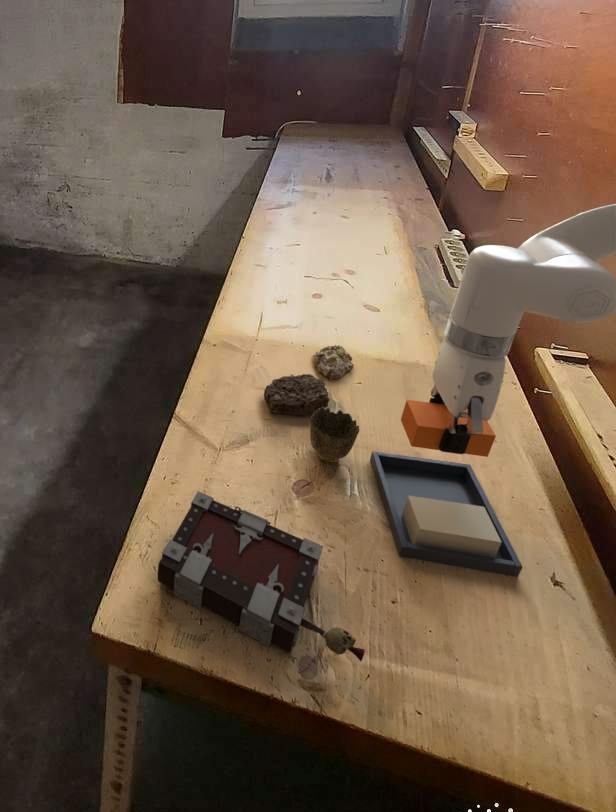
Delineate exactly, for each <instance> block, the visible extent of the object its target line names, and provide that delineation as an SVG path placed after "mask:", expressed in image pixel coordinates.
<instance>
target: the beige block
mask: <svg viewBox="0 0 616 812" xmlns="http://www.w3.org/2000/svg"><path fill="white" fill-rule="evenodd" d="M402 515H403V518H404V521H405V524H406V527H407V530H408V533H409V536H410V539H411V542H412V544H415V545H421V546H427V547H433V548H439V549H445V550H451V551H457V552H462V553H468V554H474V555H480V556H486V557H492V558H495V556H496V554H497V552H498V550H499V547H500V545H501V543H502V542H501V540H500V538H499V536H498V534H497V532H496V529H495V527H494V525H493V523H492V521H491V519H490V517H489V515H488V513H487V511H486V509H485V507H482V506H475V505H469V504H462V503H455V502H449V501H442V500H435V499H429V498H422V497H415V496H409V495H408V498H407V501H406V504H405V507H404V510H403V513H402Z"/></svg>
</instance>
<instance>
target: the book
mask: <svg viewBox="0 0 616 812" xmlns="http://www.w3.org/2000/svg"><path fill="white" fill-rule="evenodd" d="M214 499H215V498H214V497H213V496H211V495H208V494H206V493H204V492H201V491H199V490H197V492H196V493H195V494H194V497H193V499H192V500H191V502H190V503H191V504H190V507H189V509H188V511H187V513H186V514H185V516H184V518H183V519H182V522H181V523H180V525H179V527H178V528H177V530H176V532H175V534H174V536H173V537H172V539H169V540H168V542H167V544H166V546H165V548H164V549H163V551H162V553H161V554H162V555H161V559H160V560H159V562H158V566H157V583H160V584H162V585H163V586H165V587H167V588H169V589H171V590H172V591H173V595H174V596H175V597H178V598H180V599H181V600H184V601H185V602H187V603H189V604H190V605H193V606H195V607H196V608H198V609H201V608H202V607H204V608H205V609H206V610H209V611H210V612H213V613H214V614H216V615H218V616H220V617H222V618H223V619H225V620H227V621H229V622H231V623H233V624H234V625H236V626H238V631H239V632H241V633H243V634H245V635H247V636H249V637H250V638H252V639H254V640H256V641H258V642H260V643H261V644H264V645H265V646H267V647H270V645H273V646H274V647H276V648H278V649H281V650H282V651H284V652H285V653H288V654H291V653H292V649H293V648H294V647H296V643H297V640H298V636H299V632H300V630H301V627H303V628H304V629H307V630H309V631H312V632H315V633H318V634H319V635H320V636H322V638H323V639H324V641H325V644H326V647H327V648H328V650H330V651H331V652H333V653H334V654H336V655H344V654H345V652H346V651H349V652H351V653H352V654H353V655H354V656H355V657H356V658H357V660H359V662H362V661H363V658H364V655H365V651H366V650H365V648H361V647H355V644H356V641H357V640H356V638H355V637H354V636H353V635H352V633H351V632H349V631H348V630H345V629H344V628H341V627H338V626H335V627H331V628H330V629H328V630H323V629H322V628H321V627H319V626H317V625H315V624H313V623H312V622H310V621H308V620H306V619H305V618H303V616H304V612H305V605H306V603H307V598H308V595H309V592H310V588H311V585H312V581H315V578H316V575H317V571H318V568H319V563H320V558H321V555H322V551H323V547H324V546H323V545H322V544H320V543H317V542H316V541H313V540H310V539H308V538H306V537H303V539H302V538H300V537H298V536H295V535H293V534H291V533H289V532H287V531H284V530H283V529H280V528H278V527H275V526H272V525H271V521H268V519H266V518H264V517H262V516H260V515H257V514H255V513H253V512H250V511H248V510H245V509H242V508H241V507H239V506H235V507H234V508H232V507H230V506H227V505H225V504H223V503H221V502H218V501H216V500H214Z"/></svg>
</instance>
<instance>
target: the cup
mask: <svg viewBox="0 0 616 812" xmlns="http://www.w3.org/2000/svg"><path fill="white" fill-rule="evenodd" d="M359 433H360V425H359V424H358V425H357V420H356V419H354V420H353V417H352V416H351V414H350V413H349V412H347V413H344V412H343V410H341V409H338V410H337V412H336V413H335V412H334V411H331V410H330V407H326V408H323V407H322V408H320V409H319V410H318V411H316V410H315V411H313V414H311V416H310V429H309V434H310V435H309V438H310V443H311V447H312V448H313V450H314V451H315V453H316V456H317V458H318V459H319V460H320V461H322V462H324V463H327V464H335V463H337V462H339V460H341V459H343V458H345V457H346V456H348V455H349V453H350V452H351V450H352V449H353V446H354V444H355V443H356V440H357V437H358V435H359Z"/></svg>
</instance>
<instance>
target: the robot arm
mask: <svg viewBox="0 0 616 812" xmlns="http://www.w3.org/2000/svg"><path fill="white" fill-rule="evenodd" d="M615 255H616V203H614V204H608V205H604V206H600V207H596V208H592V209H589V210H586V211H584V212H580V213H578V214H576V215H573V216H571V217H569V218H567V219H565V220H562V221H560V222H558V223H556V224H554V225H551V226H549V227H548V228H546V229H544V230H541V231H539V232H538V233H536V234H534V235H532V236H531V237H530V238H528V239H527V240H525V241H524V242H523V243H521V245H520V246H518V247H517V248H516V247H513V246H509V245H501V244H500V245H499V244H485V245H481V246H477V247H476V248H474V249H473V250H472V251H471V252H470V253H469V255H468V257H467V259H466V262H465V266H464V269H463V271H462V276H461V279H460V282H459V284H458V288H457V290H456V291H457V292H456V295H455V298H454V300H453V304H452V307H451V310H450V313H449V317H448V320H447V323H446V326H445V329H444V333H443V341H442V343H441V346H440V348H439V351H438V353H437V356H436V359H435V362H434V366H433V370H432V373H431V374H432V375H431V376H432V377H431V378H432V381H433V383H434V385H433V387H432V389H431V391H430V396H431V397H430V398H429V401H428V402H429V403H437V404H445V405H446V407H447V408H448V410H449V412H450V413H451V415H450V423H449V428H445V431H444V433H443V436H442V439H441V442H440V445H439V449H440V450H439V451H440V452H442V453H449V454H457V455H465V454H464V453H465V451H466V448H467V445H468V443H469V440H470V437H471V436H474V435H476V434H482V433H483V421H482V420H486V421H487V422H488V421H490V420H491V418H492V417H493V414H494V411H495V408H496V405H497V402H498V399H499V396H500V393H501V388H502V385H503V382H504V376H505V369H506V363H507V362H506V358H505V357H507V356H508V355H509V352H510V350H511V346H512V344H513V341H514V339H515V336H516V334H517V332H518V328H519V326H520V323H521V320H522V319H523V316H524V313H531V314H533V315H539V316H542V317H546V318H550V319H555V320H559V321H564V322H568V323H569V322H570V323H581V324H582V323H583V324H585V323H593V322H599V321H602V320H604V319H606V318H609V317H610V316H613V315H614V314H615V313H616V276H615V275H614V274H612V273H611V272H610V271H609V270H607V268H605V267H604V266H602V265H601V264H600V263H599V262H597V261H600V260H603V259H605V258H608V257H612V256H615ZM465 409H468V412H463V411H464V410H465ZM458 417H462V418H468V421H467V424H465V425H464V424H460V425H457V423H458Z"/></svg>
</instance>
